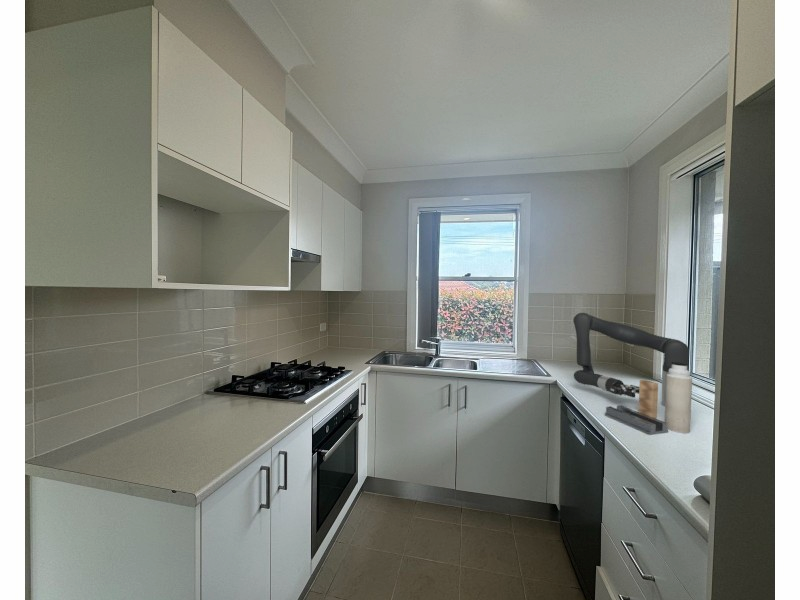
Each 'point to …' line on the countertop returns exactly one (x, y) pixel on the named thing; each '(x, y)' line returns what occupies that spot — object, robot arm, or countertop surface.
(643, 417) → the rail
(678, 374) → the thermos bottle
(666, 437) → the countertop surface
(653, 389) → the door slat
